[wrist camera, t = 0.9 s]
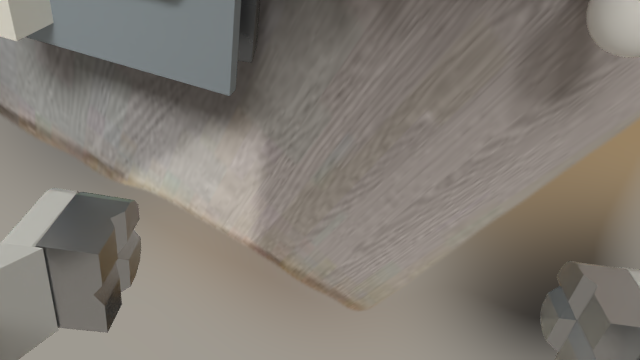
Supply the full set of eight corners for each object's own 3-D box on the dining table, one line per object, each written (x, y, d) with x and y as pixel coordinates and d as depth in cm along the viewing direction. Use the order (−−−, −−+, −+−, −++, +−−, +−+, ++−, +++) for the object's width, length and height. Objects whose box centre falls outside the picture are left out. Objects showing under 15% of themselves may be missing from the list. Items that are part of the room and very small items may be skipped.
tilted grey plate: (-16, -107, 37) (-78, -95, 33) (243, -41, 35) (210, -20, 31) (13, 25, 44) (-36, 48, 40) (235, 89, 41) (206, 120, 37)
